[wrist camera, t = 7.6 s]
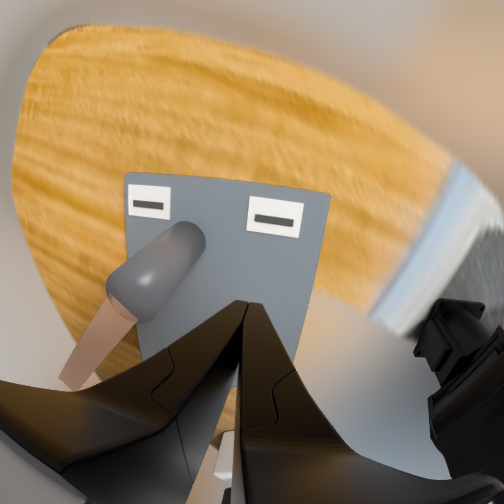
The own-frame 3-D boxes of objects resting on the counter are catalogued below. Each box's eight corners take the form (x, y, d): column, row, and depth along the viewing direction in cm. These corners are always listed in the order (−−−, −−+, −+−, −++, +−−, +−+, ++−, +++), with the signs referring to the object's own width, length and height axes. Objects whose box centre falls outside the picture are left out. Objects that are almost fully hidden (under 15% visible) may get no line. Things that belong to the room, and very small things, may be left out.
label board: (329, 193, 19) (331, 196, 17) (284, 387, 26) (283, 395, 25) (131, 172, 20) (123, 174, 19) (146, 358, 27) (142, 365, 26)
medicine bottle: (223, 430, 31) (202, 506, 20) (270, 422, 29) (257, 509, 18) (250, 453, 33) (236, 520, 22) (294, 446, 31) (287, 520, 20)
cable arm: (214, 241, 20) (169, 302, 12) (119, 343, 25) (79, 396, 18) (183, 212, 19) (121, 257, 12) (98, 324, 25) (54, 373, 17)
